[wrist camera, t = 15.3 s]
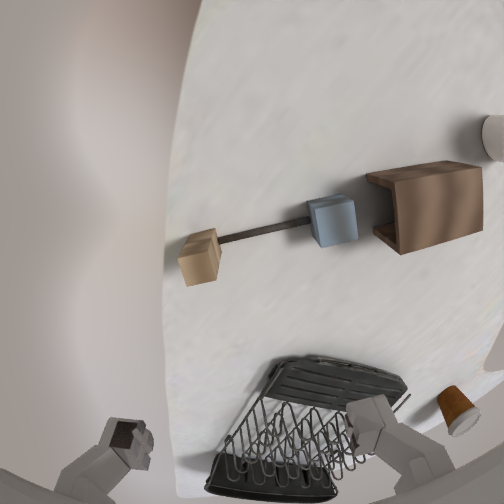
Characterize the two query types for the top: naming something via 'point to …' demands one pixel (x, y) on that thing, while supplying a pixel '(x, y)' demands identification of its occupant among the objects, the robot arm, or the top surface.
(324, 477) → the dish rack
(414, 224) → the cubby
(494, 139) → the potion bottle
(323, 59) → the top surface
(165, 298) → the top surface
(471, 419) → the disposable coffee cup
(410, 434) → the robot arm
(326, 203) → the tethered block
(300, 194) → the top surface
